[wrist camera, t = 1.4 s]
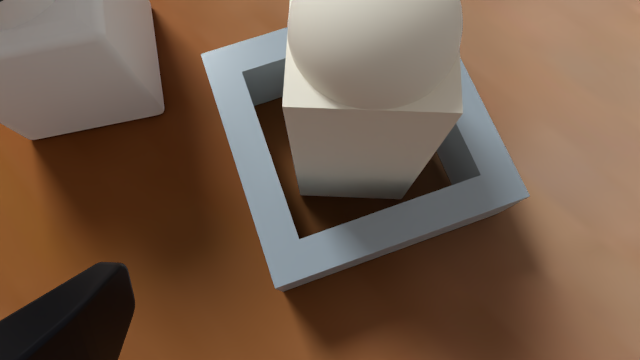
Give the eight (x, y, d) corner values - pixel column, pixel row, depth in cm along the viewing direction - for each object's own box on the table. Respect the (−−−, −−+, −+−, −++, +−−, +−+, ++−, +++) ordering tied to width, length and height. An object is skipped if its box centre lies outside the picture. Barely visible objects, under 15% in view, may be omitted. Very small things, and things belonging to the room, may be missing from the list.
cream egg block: (401, 199, 22) (497, 65, 10) (300, 195, 22) (272, 57, 10) (400, 106, 23) (483, -111, 11) (305, 103, 23) (286, -115, 11)
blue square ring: (282, 291, 21) (275, 288, 17) (218, 90, 23) (200, 54, 20) (497, 213, 22) (529, 196, 18) (409, 29, 24) (423, -15, 21)
